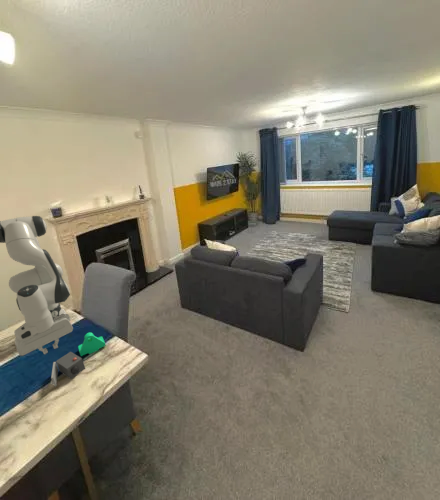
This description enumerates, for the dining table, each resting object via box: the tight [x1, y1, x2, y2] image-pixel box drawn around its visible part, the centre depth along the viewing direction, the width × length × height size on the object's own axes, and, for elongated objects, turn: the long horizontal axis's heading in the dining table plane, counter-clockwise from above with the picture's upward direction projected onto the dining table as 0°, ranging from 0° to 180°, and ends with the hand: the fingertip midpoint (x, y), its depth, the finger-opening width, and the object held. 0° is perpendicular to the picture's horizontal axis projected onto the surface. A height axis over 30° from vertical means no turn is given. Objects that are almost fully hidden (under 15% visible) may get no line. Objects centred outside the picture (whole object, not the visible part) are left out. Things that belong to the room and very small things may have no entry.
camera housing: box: [55, 351, 86, 380], centre depth 122 cm, size 11×7×7 cm, turn 57°
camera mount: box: [77, 332, 107, 357], centre depth 135 cm, size 12×8×10 cm, turn 124°
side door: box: [50, 361, 59, 387], centre depth 117 cm, size 11×2×5 cm, turn 27°
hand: (51, 350), depth 111 cm, fingers open, 3 cm apart
